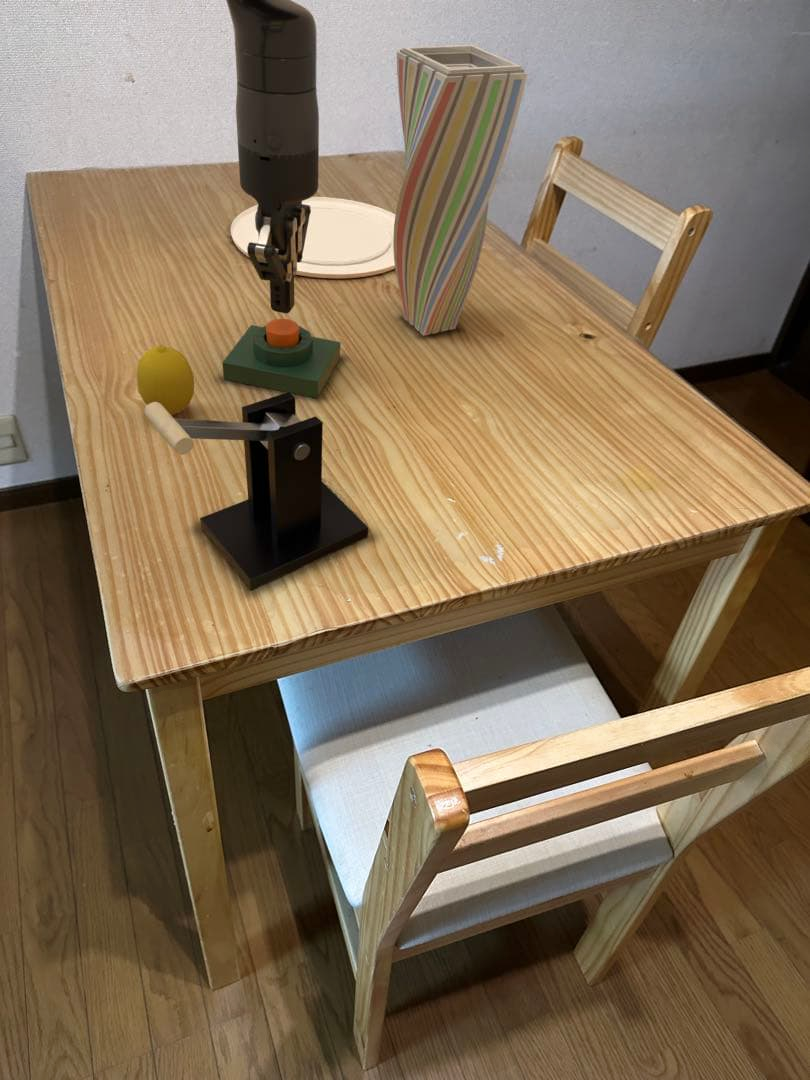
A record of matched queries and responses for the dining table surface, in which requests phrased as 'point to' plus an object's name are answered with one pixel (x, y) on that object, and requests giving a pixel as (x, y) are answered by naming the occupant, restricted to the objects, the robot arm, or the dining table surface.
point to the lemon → (165, 378)
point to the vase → (448, 172)
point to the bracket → (282, 503)
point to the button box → (282, 362)
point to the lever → (212, 428)
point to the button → (282, 333)
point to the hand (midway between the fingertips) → (282, 309)
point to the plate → (334, 238)
